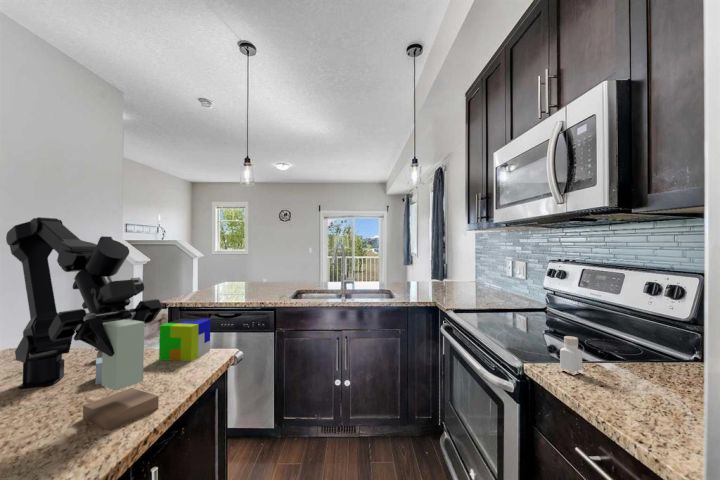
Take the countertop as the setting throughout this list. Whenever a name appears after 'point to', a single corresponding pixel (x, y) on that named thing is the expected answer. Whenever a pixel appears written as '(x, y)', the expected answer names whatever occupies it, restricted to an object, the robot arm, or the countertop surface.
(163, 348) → the puzzle toy
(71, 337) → the robot arm
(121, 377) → the sage pillar block
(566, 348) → the salt shaker
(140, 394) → the walnut base block
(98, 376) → the slate painted cube
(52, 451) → the countertop surface
